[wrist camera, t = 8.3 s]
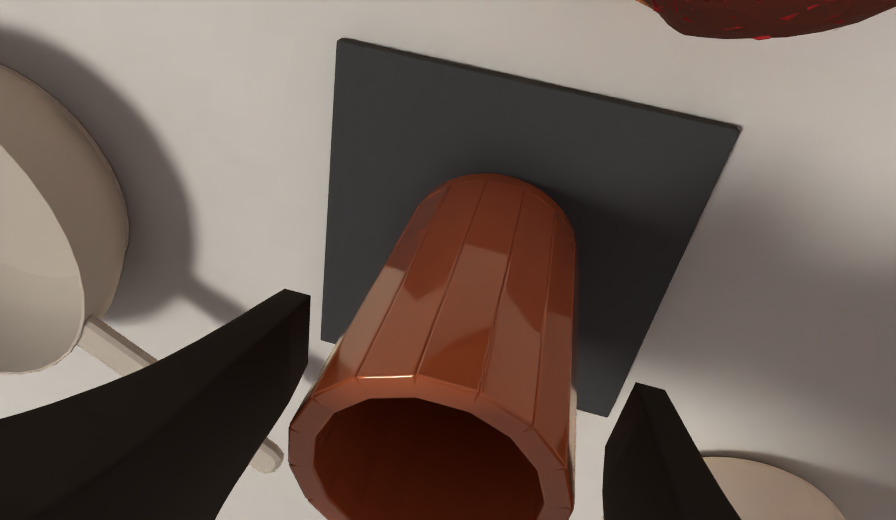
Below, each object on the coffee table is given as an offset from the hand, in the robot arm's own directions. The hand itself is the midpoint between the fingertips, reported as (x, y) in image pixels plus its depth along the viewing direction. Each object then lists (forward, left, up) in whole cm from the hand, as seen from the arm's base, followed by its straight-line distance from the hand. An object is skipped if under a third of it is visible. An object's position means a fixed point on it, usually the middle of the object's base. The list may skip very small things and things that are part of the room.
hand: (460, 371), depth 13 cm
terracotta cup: (0, 0, -5) cm, 5 cm away
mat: (0, 0, -5) cm, 5 cm away
